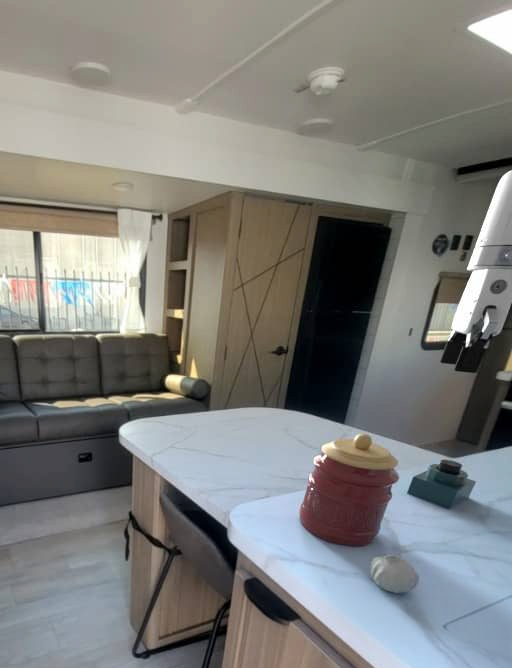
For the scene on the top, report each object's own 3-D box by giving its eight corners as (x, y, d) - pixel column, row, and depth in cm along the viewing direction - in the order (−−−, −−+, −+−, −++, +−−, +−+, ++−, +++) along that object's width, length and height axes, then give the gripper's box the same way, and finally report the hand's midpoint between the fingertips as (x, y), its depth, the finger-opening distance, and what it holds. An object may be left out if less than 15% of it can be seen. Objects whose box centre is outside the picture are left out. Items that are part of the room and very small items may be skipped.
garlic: (360, 585, 59) (371, 556, 56) (369, 568, 62) (380, 540, 60) (407, 606, 55) (421, 576, 53) (415, 587, 59) (428, 558, 56)
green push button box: (427, 483, 92) (437, 459, 90) (468, 498, 86) (480, 472, 84) (406, 493, 87) (416, 467, 84) (449, 509, 81) (461, 482, 78)
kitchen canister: (393, 540, 70) (432, 445, 62) (335, 553, 65) (369, 452, 58) (335, 505, 81) (361, 419, 73) (282, 514, 76) (304, 424, 69)
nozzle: (441, 467, 86) (445, 458, 86) (461, 473, 84) (465, 464, 83) (434, 470, 85) (437, 461, 84) (454, 477, 82) (458, 467, 81)
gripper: (553, 257, 58) (499, 378, 65) (506, 264, 72) (466, 363, 80) (489, 256, 60) (444, 372, 68) (456, 263, 75) (422, 359, 82)
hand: (456, 367), depth 74 cm, fingers open, 9 cm apart
